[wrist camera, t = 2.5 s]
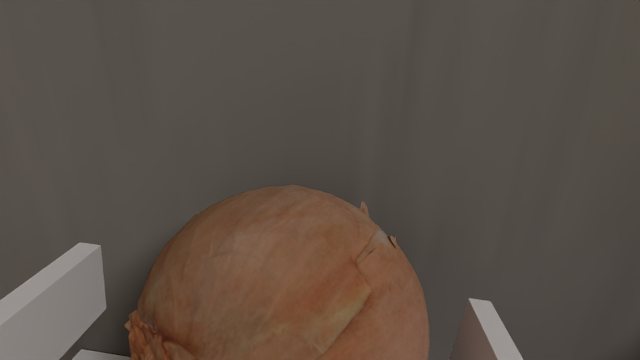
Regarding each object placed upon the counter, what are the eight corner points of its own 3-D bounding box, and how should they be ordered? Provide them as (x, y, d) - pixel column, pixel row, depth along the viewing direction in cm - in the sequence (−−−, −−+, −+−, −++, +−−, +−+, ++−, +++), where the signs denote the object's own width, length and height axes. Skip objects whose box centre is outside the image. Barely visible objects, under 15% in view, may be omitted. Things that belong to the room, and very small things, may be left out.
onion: (240, 234, 20) (20, 345, 12) (350, 112, 15) (99, 160, 7) (351, 386, 19) (186, 636, 10) (518, 308, 13) (453, 683, 5)
